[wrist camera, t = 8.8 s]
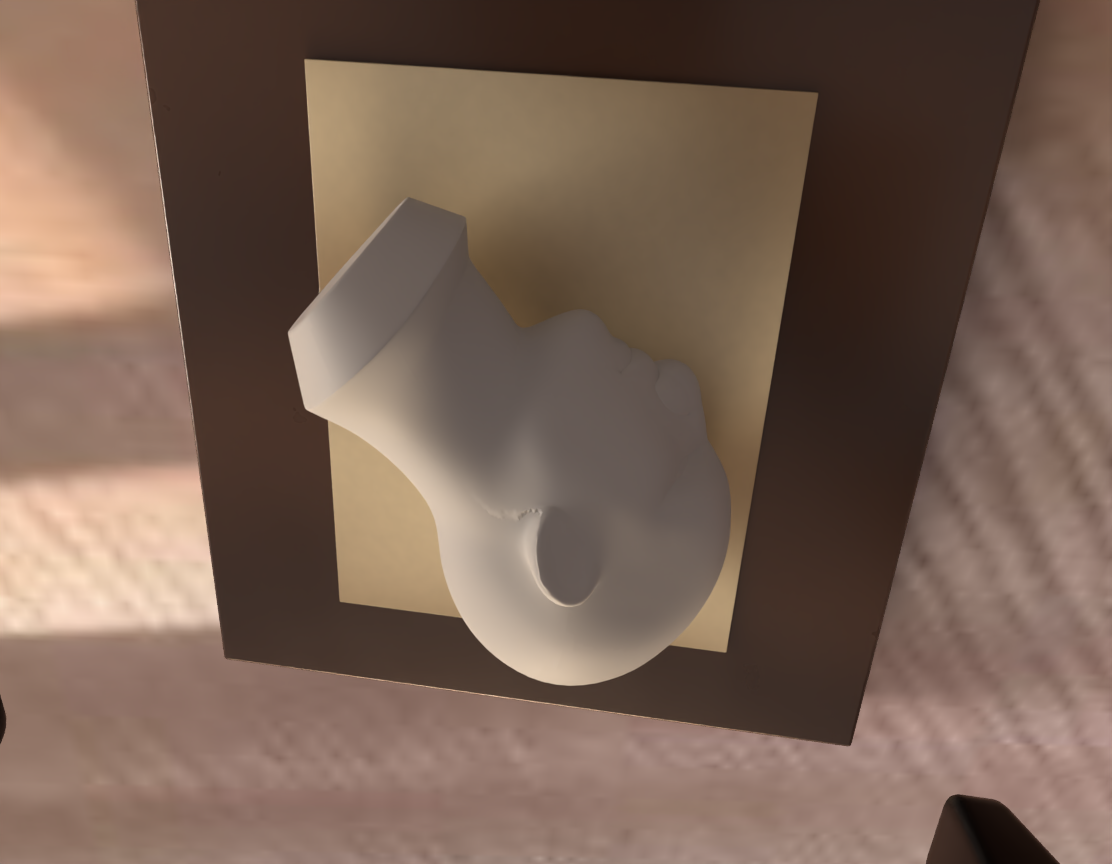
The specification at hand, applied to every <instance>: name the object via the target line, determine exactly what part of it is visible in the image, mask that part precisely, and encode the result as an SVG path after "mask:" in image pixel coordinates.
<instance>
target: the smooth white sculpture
mask: <svg viewBox="0 0 1112 864" xmlns="http://www.w3.org/2000/svg"><path fill="white" fill-rule="evenodd" d="M288 336H289V341H290V345H291V350H292V354H293V359H294V363H295V367H296V372H297V376H298V381H299V385H300V390H301V394H302V398H303V403H304V407H305V409H306V410H308V411H310V412H312V413H314V414H316V415H318V416H320V417H322V418H325V419H327V420H329V421H331V422H333V423H335V424H337V425H339V426H341V427H343V428H345V429H347V430H349V431H351V432H352V433H354V434H356V435H357V436H359V437H360V438H362V439H363V440H365V441H366V442H368V443H369V444H370V445H372V446H373V447H374V448H376V449H377V450H378V451H379V452H381V453H382V454H383V455H384V456H385V457H387V458H388V459H389V460H390V461H391V462H392V463H393V464H394V465H395V466H396V467H397V468H399V469H400V470H401V471H402V472H403V474H404V475H405V476H406V477H407V478H408V479H409V480H410V481H411V482H412V483H413V485H414V486H415V487H416V488H417V489H418V491H419V492H420V493H421V495H422V496H423V497H424V499H425V500H426V502H427V504H428V506H429V507H430V509H431V511H432V514H433V516H434V519H435V523H436V528H437V534H438V542H439V550H440V557H441V563H442V568H443V572H444V576H445V579H446V582H447V585H448V588H449V591H450V593H451V596H452V598H453V601H454V603H455V605H456V607H457V609H458V611H459V613H460V615H461V616H462V618H463V620H464V621H465V623H466V624H467V626H468V627H469V629H470V630H471V632H472V633H473V634H474V635H475V637H476V638H477V639H478V640H479V641H480V642H481V643H482V644H483V645H484V646H485V648H486V649H487V650H489V651H490V652H491V653H492V654H493V655H494V656H495V657H497V658H498V659H499V660H501V661H502V662H503V663H505V664H506V665H508V666H509V667H511V668H513V669H514V670H516V671H518V672H520V673H522V674H524V675H526V676H528V677H530V678H533V679H536V680H539V681H542V682H546V683H551V684H555V685H567V686H575V685H587V684H594V683H599V682H603V681H607V680H610V679H613V678H616V677H619V676H622V675H624V674H626V673H628V672H631V671H633V670H635V669H636V668H638V667H640V666H642V665H643V664H645V663H646V662H648V661H649V660H651V659H652V658H654V657H655V656H656V655H658V654H659V653H660V652H661V651H663V650H664V649H665V648H666V647H667V646H669V645H670V644H671V643H672V642H673V641H674V640H675V639H676V638H677V637H678V636H679V635H680V634H681V633H682V632H683V631H684V630H685V629H686V628H687V627H688V626H689V625H690V624H691V622H692V621H693V620H694V618H695V617H696V616H697V614H698V613H699V612H700V610H701V609H702V607H703V606H704V604H705V603H706V601H707V599H708V598H709V596H710V594H711V592H712V590H713V588H714V586H715V584H716V582H717V580H718V578H719V575H720V573H721V570H722V567H723V564H724V561H725V557H726V553H727V549H728V544H729V538H730V527H731V497H730V489H729V483H728V479H727V476H726V473H725V470H724V468H723V466H722V463H721V461H720V459H719V457H718V456H717V454H716V452H715V450H714V449H713V447H712V445H711V444H710V442H709V441H708V438H707V432H706V422H705V416H704V411H703V406H702V399H701V392H700V387H699V383H698V380H697V378H696V376H695V374H694V372H693V371H692V370H691V369H690V368H689V367H688V366H687V365H686V364H684V363H682V362H680V361H677V360H673V359H664V360H658V361H654V362H653V360H652V359H651V357H650V356H649V355H648V354H646V353H645V352H644V351H642V350H640V349H636V348H629V347H628V345H627V344H626V343H625V342H624V341H622V340H620V339H618V338H615V337H613V336H612V335H611V334H610V332H609V331H608V329H607V327H606V325H605V324H604V322H603V321H602V320H601V319H600V318H599V317H598V316H597V315H596V314H594V313H593V312H591V311H588V310H584V309H577V310H571V311H568V312H564V313H562V314H559V315H556V316H554V317H552V318H549V319H547V320H545V321H543V322H540V323H538V324H535V325H533V326H530V327H526V328H522V327H519V326H518V325H517V324H516V323H515V322H514V320H513V319H512V317H511V316H510V314H509V313H508V311H507V310H506V308H505V307H504V305H503V304H502V302H501V301H500V300H499V298H498V297H497V296H496V294H495V293H494V292H493V290H492V289H491V287H490V286H489V285H488V283H487V282H486V281H485V279H484V278H483V277H482V275H481V274H480V273H479V271H478V270H477V269H476V267H475V266H474V264H473V263H472V261H471V259H470V257H469V252H468V237H467V222H466V218H465V217H464V216H462V215H459V214H456V213H453V212H450V211H447V210H445V209H442V208H439V207H436V206H433V205H430V204H427V203H425V202H422V201H419V200H416V199H413V198H410V197H407V198H406V199H404V200H403V201H402V202H401V203H400V204H399V205H398V206H397V207H396V208H395V209H394V210H393V212H392V213H391V214H390V215H389V216H388V217H387V218H386V219H385V220H384V221H383V223H382V224H381V225H380V226H379V227H378V228H377V229H376V230H375V231H374V232H373V234H372V235H371V236H370V237H369V238H368V239H367V240H366V241H365V242H364V244H363V245H362V246H361V247H360V248H359V249H358V250H357V251H356V252H355V254H354V255H353V256H352V257H351V258H350V259H349V260H348V261H347V262H346V264H345V265H344V266H343V267H342V268H341V269H340V270H339V271H338V273H337V274H336V275H335V276H334V277H333V278H332V279H331V281H330V282H329V283H328V284H327V285H326V286H325V288H324V289H323V290H322V291H321V292H320V293H319V295H318V296H317V297H316V298H315V299H314V300H313V302H312V303H311V304H310V305H309V306H308V307H307V308H306V310H305V311H304V312H303V313H302V314H301V315H300V317H299V318H298V319H297V320H296V322H295V323H294V324H293V325H292V327H291V328H290V330H289V331H288Z"/></svg>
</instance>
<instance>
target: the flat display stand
mask: <svg viewBox="0 0 1112 864" xmlns="http://www.w3.org/2000/svg"><path fill="white" fill-rule="evenodd" d="M1039 3H1040V0H135V5H136V12H137V20H138V27H139V34H140V41H141V49H142V56H143V63H144V71H145V78H146V85H147V93H148V100H149V107H150V115H151V122H152V129H153V137H154V144H155V151H156V159H157V166H158V173H159V181H160V188H161V195H162V202H163V210H164V217H165V224H166V232H167V239H168V246H169V254H170V261H171V268H172V276H173V283H174V290H175V298H176V305H177V312H178V320H179V327H180V334H181V341H182V349H183V356H184V363H185V371H186V378H187V385H188V393H189V400H190V407H191V415H192V422H193V429H194V437H195V444H196V451H197V459H198V466H199V473H200V481H201V488H202V495H203V502H204V510H205V517H206V524H207V532H208V539H209V546H210V554H211V561H212V568H213V576H214V583H215V590H216V598H217V605H218V612H219V620H220V627H221V634H222V642H223V649H224V656H225V658H226V659H230V660H237V661H244V662H251V663H259V664H266V665H273V666H280V667H287V668H294V669H301V670H308V671H316V672H323V673H330V674H337V675H344V676H351V677H358V678H365V679H372V680H380V681H387V682H394V683H401V684H408V685H415V686H422V687H429V688H436V689H444V690H451V691H458V692H465V693H472V694H479V695H486V696H493V697H500V698H508V699H515V700H522V701H529V702H536V703H543V704H550V705H557V706H565V707H572V708H579V709H586V710H593V711H600V712H607V713H614V714H621V715H629V716H636V717H643V718H650V719H657V720H664V721H671V722H678V723H685V724H693V725H700V726H707V727H714V728H721V729H728V730H735V731H742V732H750V733H757V734H764V735H771V736H778V737H785V738H792V739H799V740H806V741H814V742H821V743H828V744H835V745H842V746H850V745H851V743H852V740H853V736H854V732H855V728H856V724H857V720H858V716H859V712H860V708H861V704H862V700H863V696H864V692H865V688H866V684H867V680H868V677H869V673H870V669H871V665H872V661H873V657H874V653H875V649H876V645H877V641H878V637H879V633H880V629H881V625H882V621H883V617H884V613H885V610H886V606H887V602H888V598H889V594H890V590H891V586H892V582H893V578H894V574H895V570H896V566H897V562H898V558H899V554H900V550H901V546H902V543H903V539H904V535H905V531H906V527H907V523H908V519H909V515H910V511H911V507H912V503H913V499H914V495H915V491H916V487H917V483H918V480H919V476H920V472H921V468H922V464H923V460H924V456H925V452H926V448H927V444H928V440H929V436H930V432H931V428H932V424H933V420H934V416H935V413H936V409H937V405H938V401H939V397H940V393H941V389H942V385H943V381H944V377H945V373H946V369H947V365H948V361H949V357H950V353H951V349H952V346H953V342H954V338H955V334H956V330H957V326H958V322H959V318H960V314H961V310H962V306H963V302H964V298H965V294H966V290H967V286H968V283H969V279H970V275H971V271H972V267H973V263H974V259H975V255H976V251H977V247H978V243H979V239H980V235H981V231H982V227H983V223H984V219H985V216H986V212H987V208H988V204H989V200H990V196H991V192H992V188H993V184H994V180H995V176H996V172H997V168H998V164H999V160H1000V156H1001V152H1002V149H1003V145H1004V141H1005V137H1006V133H1007V129H1008V125H1009V121H1010V117H1011V113H1012V109H1013V105H1014V101H1015V97H1016V93H1017V89H1018V86H1019V82H1020V78H1021V74H1022V70H1023V66H1024V62H1025V58H1026V54H1027V50H1028V46H1029V42H1030V38H1031V34H1032V30H1033V26H1034V22H1035V19H1036V15H1037V11H1038V7H1039ZM407 197H410V198H413V199H416V200H419V201H422V202H425V203H427V204H430V205H433V206H436V207H439V208H442V209H445V210H447V211H450V212H453V213H456V214H459V215H462V216H464V217H465V218H466V222H467V237H468V252H469V257H470V259H471V261H472V263H473V264H474V266H475V267H476V269H477V270H478V271H479V273H480V274H481V275H482V277H483V278H484V279H485V281H486V282H487V283H488V285H489V286H490V287H491V289H492V290H493V292H494V293H495V294H496V296H497V297H498V298H499V300H500V301H501V302H502V304H503V305H504V307H505V308H506V310H507V311H508V313H509V314H510V316H511V317H512V319H513V320H514V322H515V323H516V324H517V325H518V326H519V327H522V328H526V327H530V326H533V325H535V324H538V323H540V322H543V321H545V320H547V319H549V318H552V317H554V316H556V315H559V314H562V313H564V312H568V311H571V310H577V309H584V310H588V311H591V312H593V313H594V314H596V315H597V316H598V317H599V318H600V319H601V320H602V321H603V322H604V324H605V325H606V327H607V329H608V331H609V332H610V334H611V335H612V336H613V337H615V338H618V339H620V340H622V341H624V342H625V343H626V344H627V345H628V347H629V348H636V349H640V350H642V351H644V352H645V353H646V354H648V355H649V356H650V357H651V359H652V360H653V362H654V361H658V360H664V359H673V360H677V361H680V362H682V363H684V364H686V365H687V366H688V367H689V368H690V369H691V370H692V371H693V372H694V374H695V376H696V378H697V380H698V383H699V387H700V392H701V399H702V406H703V411H704V416H705V422H706V432H707V438H708V441H709V442H710V444H711V445H712V447H713V449H714V450H715V452H716V454H717V456H718V457H719V459H720V461H721V463H722V466H723V468H724V470H725V473H726V476H727V479H728V483H729V489H730V497H731V527H730V538H729V544H728V549H727V553H726V557H725V561H724V564H723V567H722V570H721V573H720V575H719V578H718V580H717V582H716V584H715V586H714V588H713V590H712V592H711V594H710V596H709V598H708V599H707V601H706V603H705V604H704V606H703V607H702V609H701V610H700V612H699V613H698V614H697V616H696V617H695V618H694V620H693V621H692V622H691V624H690V625H689V626H688V627H687V628H686V629H685V630H684V631H683V632H682V633H681V634H680V635H679V636H678V637H677V638H676V639H675V640H674V641H673V642H672V643H671V644H670V645H669V646H667V647H666V648H665V649H664V650H663V651H661V652H660V653H659V654H658V655H656V656H655V657H654V658H652V659H651V660H649V661H648V662H646V663H645V664H643V665H642V666H640V667H638V668H636V669H635V670H633V671H631V672H628V673H626V674H624V675H622V676H619V677H616V678H613V679H610V680H607V681H603V682H599V683H594V684H587V685H575V686H567V685H555V684H551V683H546V682H542V681H539V680H536V679H533V678H530V677H528V676H526V675H524V674H522V673H520V672H518V671H516V670H514V669H513V668H511V667H509V666H508V665H506V664H505V663H503V662H502V661H501V660H499V659H498V658H497V657H495V656H494V655H493V654H492V653H491V652H490V651H489V650H487V649H486V648H485V646H484V645H483V644H482V643H481V642H480V641H479V640H478V639H477V638H476V637H475V635H474V634H473V633H472V632H471V630H470V629H469V627H468V626H467V624H466V623H465V621H464V620H463V618H462V616H461V615H460V613H459V611H458V609H457V607H456V605H455V603H454V601H453V598H452V596H451V593H450V591H449V588H448V585H447V582H446V579H445V576H444V572H443V568H442V563H441V557H440V550H439V542H438V534H437V528H436V523H435V519H434V516H433V514H432V511H431V509H430V507H429V506H428V504H427V502H426V500H425V499H424V497H423V496H422V495H421V493H420V492H419V491H418V489H417V488H416V487H415V486H414V485H413V483H412V482H411V481H410V480H409V479H408V478H407V477H406V476H405V475H404V474H403V472H402V471H401V470H400V469H399V468H397V467H396V466H395V465H394V464H393V463H392V462H391V461H390V460H389V459H388V458H387V457H385V456H384V455H383V454H382V453H381V452H379V451H378V450H377V449H376V448H374V447H373V446H372V445H370V444H369V443H368V442H366V441H365V440H363V439H362V438H360V437H359V436H357V435H356V434H354V433H352V432H351V431H349V430H347V429H345V428H343V427H341V426H339V425H337V424H335V423H333V422H331V421H329V420H327V419H325V418H322V417H320V416H318V415H316V414H314V413H312V412H310V411H308V410H306V409H305V407H304V403H303V398H302V394H301V390H300V385H299V381H298V376H297V372H296V367H295V363H294V359H293V354H292V350H291V345H290V341H289V336H288V331H289V330H290V328H291V327H292V325H293V324H294V323H295V322H296V320H297V319H298V318H299V317H300V315H301V314H302V313H303V312H304V311H305V310H306V308H307V307H308V306H309V305H310V304H311V303H312V302H313V300H314V299H315V298H316V297H317V296H318V295H319V293H320V292H321V291H322V290H323V289H324V288H325V286H326V285H327V284H328V283H329V282H330V281H331V279H332V278H333V277H334V276H335V275H336V274H337V273H338V271H339V270H340V269H341V268H342V267H343V266H344V265H345V264H346V262H347V261H348V260H349V259H350V258H351V257H352V256H353V255H354V254H355V252H356V251H357V250H358V249H359V248H360V247H361V246H362V245H363V244H364V242H365V241H366V240H367V239H368V238H369V237H370V236H371V235H372V234H373V232H374V231H375V230H376V229H377V228H378V227H379V226H380V225H381V224H382V223H383V221H384V220H385V219H386V218H387V217H388V216H389V215H390V214H391V213H392V212H393V210H394V209H395V208H396V207H397V206H398V205H399V204H400V203H401V202H402V201H403V200H404V199H406V198H407Z"/></svg>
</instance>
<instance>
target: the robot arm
mask: <svg viewBox="0 0 1112 864" xmlns="http://www.w3.org/2000/svg"><path fill="white" fill-rule="evenodd" d="M5 728H6V714H5V710H4V707H3V703H2V699H1V696H0V743H1V741H2V738H3V736H4V733H5ZM926 864H1060V863H1059V862H1058V861H1057V860H1056V859H1055V858H1054V857H1053V856H1052V855H1051V854H1050V853H1049V852H1048V850H1047V849H1046V848H1045V847H1044V846H1043V845H1042V844H1041V843H1040V842H1039V841H1038V840H1037V839H1036V838H1035V836H1034V835H1033V834H1032V833H1031V832H1030V831H1029V830H1028V829H1027V828H1026V827H1025V826H1024V825H1023V824H1022V823H1021V821H1020V820H1019V819H1018V818H1017V817H1016V816H1015V815H1014V814H1013V813H1012V812H1011V811H1010V810H1009V809H1008V808H1007V807H1006V806H1005V805H1004V804H1002V803H1001V802H999V801H997V800H994V799H987V798H980V797H973V796H966V795H959V794H957V795H952V796H951V797H949V798H948V800H947V801H946V803H945V805H944V807H943V810H942V813H941V816H940V819H939V822H938V826H937V829H936V832H935V835H934V838H933V841H932V844H931V847H930V850H929V853H928V857H927V860H926Z"/></svg>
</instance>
